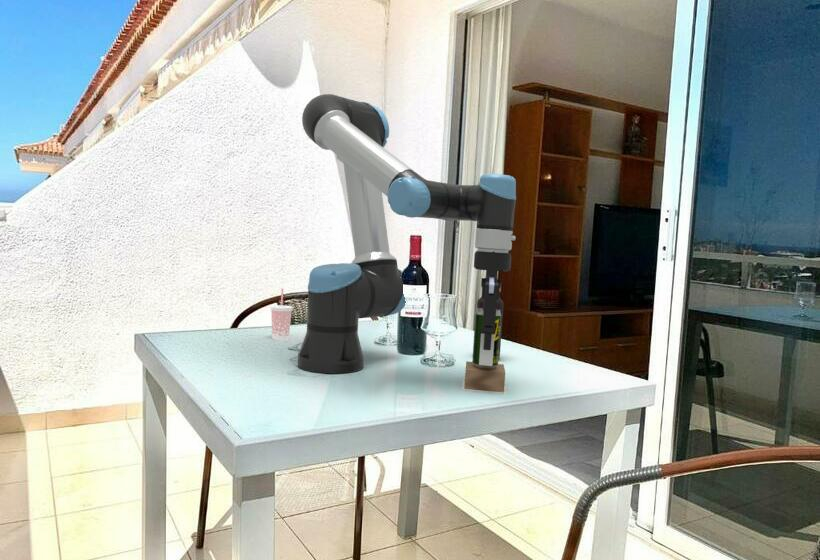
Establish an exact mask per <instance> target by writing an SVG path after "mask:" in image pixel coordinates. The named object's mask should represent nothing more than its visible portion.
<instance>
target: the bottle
mask: <svg viewBox="0 0 820 560" xmlns="http://www.w3.org/2000/svg"><path fill="white" fill-rule="evenodd" d="M501 291H502V286H501V287H500V289H499V294H501ZM477 308H483V300H482V296H480V297H479V299H478V300H477V303H476V309H477ZM496 309H498V310H500V313H501V326H500V341H499V356H498V361H499V360H500V358H501V348H502V347H501V345H502V333H503V331H502V329H503V316H504V301H503V299H501V297H500V296H499V299H498V301H497V306H496Z"/></svg>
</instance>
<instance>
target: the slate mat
mask: <svg viewBox="0 0 820 560" xmlns="http://www.w3.org/2000/svg"><path fill="white" fill-rule="evenodd" d="M461 385H462V386H461V390H462V391H472V392H473V391H474V392H484V393H486V392H487V393H496V394H497V393H498V394H507V388H506V384H505V385H504V392H494V391H482V390H470V389H464V386H465V378H462V384H461Z"/></svg>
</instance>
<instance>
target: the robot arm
mask: <svg viewBox="0 0 820 560" xmlns="http://www.w3.org/2000/svg"><path fill="white" fill-rule="evenodd" d="M301 117H302V118H301V121H302V129H303V130H304V132H305V134H306V135H307V137H308V138H309V139H310V140H311V141H312V142H313V143H314V144H315V145H317V146H318V147H319V148H320V149H322V150H325V151H326V150H327V151H331V152H333V153H334V154H335V156H336V159H337V160H338V161H339V162H341V163H342V164H343V170H344V177H345V179H344V180H345V186H346V194H347V201H348V210H349V211H348V212H349V220H350V226H351V228H350V229H351V233H352V243H353V244H352V245H353V252H354V259H353V260H352V261H351V262H350V263H347V262H346V263H344V262H343V263H341V262H340V263H327V264H321V265H317V266H315V267H313V268H312V269H311V270H310V273H309V276H308V284H307V291H308V293H307V294H308V295H307V296H308V297H307V314H306V315H307V316H306V332H305V335H304V338H303V341H302V343H301V346H300V349H299V351H298V355H297V363H296V364H297V367H298V368H300V369H302V370H305V371H308V372H313V373H323V374H345V373H346V374H347V373H354V372H357V371H360V370H362V369H363V368H364V365H365V364H364V363H365V357H364V352H363V349H362V345H361V341H360V339H359V338H360V337H359V333H358V331H359V319H365V318H366V319H367V318H368V319H369V318H384V317H388V316H392V315H397V314H398V313H399V312H401V311H402V310H403V309H404V307H405V306H406V304H407V303H406V301H405V297H404V294H403V284H402V281H401V278H402V277H401V274H402V272H404V271H403V270H402V269H399V268H398V260H397V258H396V257H395V256H394V255H392V254H391V252H390V245H389V238H388V230H387V222H386V216H385V215H386V214H385V213H386V212H385V206H384V199H383V195H385V196H386V197H387V202H388V203H387V204H389V206H390V209H391V210H392V212H394V213H395V214H396V215H399V216H404V217H406V218H413V219H414V218H423V219H436V220H437V219H438V220H442V221H449V222H450V221H451V222H452V221H473V222H476V228H475V236H474V237H475V240H474V247H475V249H477V251H475V252H474V256H473V258H474V259H473V268H474V269H476V270H479V271H485V277H482V278H481V283H480V286H481V297H482V300H483V308H484V309H483V325H482V329H481V330H478V333H481V342H480V357H479V365H485V366H492V364H493V350H494V336H495V334H494V333H495V331H496V328H495V320H496V306H497V301H498V299H499V297H500V293H499V289H500V287H501V288H502V279H501V278H498V273H499V272H509V271H510V270H511V266H512V254H511V253H510V252H509V251H511V250H512V247H513V245H512V244H513V242H512V241H516V238H517V237H516V235H513V234H514V233H513V231H514V218H515V208H516V202H517V201H516V200H517V193H516V191H517V189H516V188H517V186H516V185H517V182H516V181H517V180H516V178H514V176H513V175H512V176H511V175H508V174H499V173H498V174H497V173H488V174H487V173H486V174H482V175H480V176H479V182H478V184H474V185H470V184H469V185H467V184H453V183H448V182H439V181H434V180H428V179H426V178H424V177H422V175H420V174H418V173H417V172H415V171H414V169H412V168H411V167H409V166H408V165H407V164H405V162H403V161H401V160H400V159H399V158H398V157H397V156H395V155H393V153H391V152H390V151H388V150H387V149H385V146H386V145H387V142H388V141H387V139H388V138H389V137H390V124H389V121H388V119H387V116H386V114H385V112H384V111H382V109H380V107H378V106H375V105H372V104H371V103H368V102H366V101H358V100H353V99H350V98H347V97H343V96H339V95H335V94H331V93H328V94H327V93H324V94H319V95H317V96H315V97H314V98H312V99H310V101H308V103H307V104H306V106H305V107H304V109H303V112H302V115H301ZM400 277H401V278H400ZM405 303H406V304H405Z"/></svg>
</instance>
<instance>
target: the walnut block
mask: <svg viewBox="0 0 820 560" xmlns="http://www.w3.org/2000/svg"><path fill="white" fill-rule="evenodd" d="M464 379H465V386H464V389H470V390H469V391H472V390H482V391H481V392H483V391H494V392H493V393H495V392H504V385H505V386H506V383H505V382H506V381H505V380H506V369H505V364H504V363H498V365H497V367H496V368H494V369H482V368H477V367H474V366H473V363H472V361H466V363H465V374H464Z"/></svg>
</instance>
